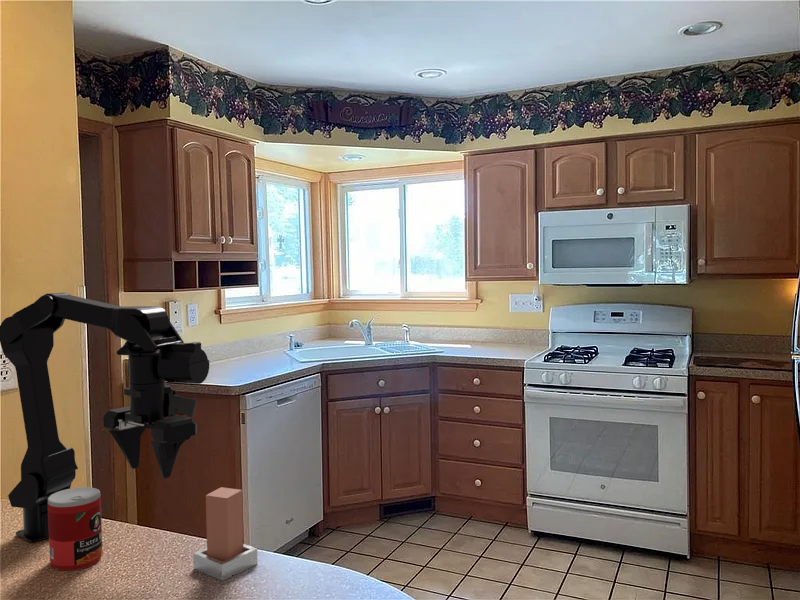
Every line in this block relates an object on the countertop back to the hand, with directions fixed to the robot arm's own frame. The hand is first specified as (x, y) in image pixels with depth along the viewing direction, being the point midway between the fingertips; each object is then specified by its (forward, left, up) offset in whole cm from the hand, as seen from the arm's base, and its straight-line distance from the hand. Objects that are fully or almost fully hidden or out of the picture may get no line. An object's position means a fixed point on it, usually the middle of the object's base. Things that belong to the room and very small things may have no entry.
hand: (150, 472), depth 111 cm
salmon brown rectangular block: (+16, +3, -13) cm, 21 cm away
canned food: (-6, -10, -13) cm, 18 cm away
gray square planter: (+16, +3, -13) cm, 21 cm away
